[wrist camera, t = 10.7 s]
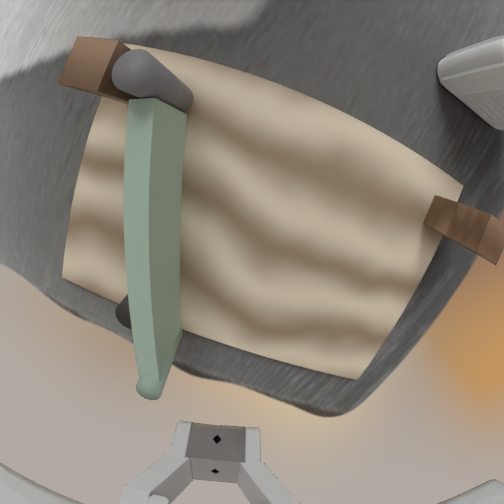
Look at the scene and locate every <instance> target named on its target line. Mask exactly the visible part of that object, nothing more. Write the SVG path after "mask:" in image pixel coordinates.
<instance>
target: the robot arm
mask: <svg viewBox="0 0 504 504" xmlns="http://www.w3.org/2000/svg"><path fill="white" fill-rule="evenodd" d="M193 479H197V480H208V481H219V482H229V483H238V485H239V487H240V488H241V490H242V491H243V493H244V494H245V496H246V497H247V498H248V500H249V502H250V503H251V504H300V503H299V502H298V501H297V500H296V499H295V498H294V497H293V496H292V495H291V493H289V491H288V490H287V489H286V488H285V487H284V486H283V484H282V483H281V482H280V481H279V480H278V479H277V477H275V475H274V474H273V473H272V471H271V470H270V469H269V468H268V467H267V466H266V464H265V463H261V450H260V429H259V428H253V427H246V428H245V427H237V426H221V425H219V426H217V425H209V424H200V423H193V422H187V421H178V423H177V426H176V430H175V434H174V439H173V443H172V447H171V452H170V454H165V455H164V456H163V457H162V458H160V459H159V460H158V461H157V462H155V463H154V464H153V465H152V466H151V467H149V468H148V469H147V470H145V471H144V472H143V473H141V474H140V475H139V476H138V477H136V478H135V479H134V480H132V481H131V482H130V483H128V484H127V485H126V486H125V487H124V489H123V493H122V496H121V499H120V503H119V504H170V503H171V502H172V501H173V500H174V499H175V498H176V497H177V496H178V495H179V494H180V493H181V492H182V491H183V490H184V489H185V488H186V487H187V486H188V485H189V484H190V483H191V482H192V481H193ZM0 504H83V503H80V502H78V501H75V500H73V499H70V498H68V497H65V496H63V495H61V494H58V493H56V492H54V491H52V490H50V489H48V488H46V487H44V486H42V485H40V484H37V483H36V482H34V481H32V480H30V479H28V478H26V477H24V476H23V475H20V474H19V473H17V472H15V471H13V470H12V469H10V468H9V467H7V466H5V465H4V464H2V463H0ZM438 504H504V483H502V482H500V481H497V480H494V479H493V480H489V481H487V482H485V483H483V484H481V485H479V486H477V487H474V488H472V489H470V490H468V491H466V492H464V493H462V494H459V495H457V496H455V497H453V498H450V499H448V500H445V501H443V502H440V503H438Z"/></svg>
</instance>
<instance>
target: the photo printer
mask: <svg viewBox="0 0 504 504" xmlns="http://www.w3.org/2000/svg"><path fill="white" fill-rule="evenodd" d="M437 73H438V78H439V79H440V83H441V84H442V85H443V86H444V87H445V88H446V89H447V90H449V91H450V92H451V93H452V94H454V95H455V96H456V97H457V98H458V99H460V100H461V101H462V102H463V103H465V104H466V105H467V106H468V107H469V108H471V109H472V110H473V111H474V112H475V113H477V114H478V115H479V116H480V117H481V118H482V119H483V120H485V121H486V122H487V123H488V124H489V125H491V126H492V127H494V128H495V129H498V130H504V35H502V36H498V37H495V38H492V39H488V40H485V41H482V42H480V43H477V44H474V45H471V46H468V47H465V48H463V49H460V50H457V51H455V52H452V53H450V54H448V55H446V56H445V58H444V59H442V60H441V61H440V62H439V64H438V67H437Z"/></svg>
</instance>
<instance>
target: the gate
mask: <svg viewBox="0 0 504 504" xmlns="http://www.w3.org/2000/svg"><path fill="white" fill-rule="evenodd" d="M112 81H113V83H114V85H115V86H116V87H117V88H118V89H119V90H122V91H124V92H126V93H129V94H131V95H134V96H136V97H138V98H141V99H129V104H128V115H127V126H126V140H125V158H124V245H125V263H126V278H127V290H128V300H129V310H130V318H131V326H132V334H133V341H134V348H135V354H136V361H137V366H138V372H139V380H138V383H137V385H136V390H137V392H138V393H139V394H140V395H141V396H142V397H144V398H146V399H149V400H157V399H159V398H160V396H161V393H162V391H163V388H164V385H165V382H166V379H167V376H168V374H169V371H170V368H171V365H172V362H173V360H174V357H175V354H176V351H177V349H178V346H179V343H180V340H181V338H182V335H183V330H182V328H181V314H180V226H181V196H182V176H183V159H184V145H185V132H186V121H187V114H185V113H183V112H185V111H187V110H188V109H189V108H190V107H191V105H192V103H193V98H194V97H193V93H192V91H191V90H190V89H189V88H188V87H187V86H186V85H185V84H184V83H183V82H182V81H180V80H179V79H178V78H177V77H176V76H175V75H174V74H173V73H172V72H171V71H169V70H168V69H167V68H166V67H165V66H164V65H163V64H162V63H160V62H159V61H158V60H157V59H156V58H155V57H154V56H153V55H151V54H150V53H149V52H148V51H146V50H143V49H133V50H130V51H128V52H126V53H124V54H123V55H122V56H120V57H119V59H118V60H117V61H116V63H115V64H114V66H113V69H112Z"/></svg>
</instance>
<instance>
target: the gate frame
mask: <svg viewBox="0 0 504 504" xmlns="http://www.w3.org/2000/svg"><path fill="white" fill-rule="evenodd" d="M133 49H143V50H146V51H148V52H149V53H150V54H151V55H153V56H154V57H155V58H156V59H157V60H158V61H159V62H160V63H162V64H163V65H164V66H165V67H166V68H167V69H168V70H169V71H171V72H172V73H173V74H174V75H175V76H176V77H177V78H178V79H179V80H180V81H182V82H183V83H184V84H185V85H186V86H187V87H188V88H189V89H190V90H191V91H192V93H193V97H194V98H193V103H192V105H191V107H190V108H189V109H188V110H187V111H185V112H183V113H185V114H187V121H186V132H185V145H184V159H183V176H182V196H181V226H180V314H181V328H182V329H183V330H186V331H189V332H192V333H194V334H197V335H200V336H203V337H206V338H209V339H211V340H214V341H217V342H220V343H223V344H226V345H229V346H232V347H236V348H239V349H242V350H245V351H248V352H251V353H255V354H258V355H261V356H265V357H268V358H272V359H275V360H279V361H282V362H286V363H289V364H293V365H297V366H301V367H304V368H308V369H312V370H316V371H320V372H324V373H328V374H333V375H337V376H341V377H346V378H350V379H355V380H358V379H359V377H360V376H361V375H362V373H363V372H364V371H365V369H366V368H367V366H368V365H369V364H370V362H371V361H372V359H373V358H374V356H375V355H376V353H377V352H378V350H379V349H380V348H381V346H382V345H383V343H384V341H385V340H386V338H387V337H388V335H389V334H390V332H391V331H392V329H393V327H394V326H395V324H396V323H397V321H398V319H399V318H400V316H401V314H402V313H403V311H404V309H405V308H406V306H407V304H408V303H409V301H410V299H411V297H412V296H413V294H414V292H415V290H416V288H417V287H418V285H419V283H420V281H421V279H422V277H423V275H424V274H425V272H426V270H427V268H428V266H429V264H430V262H431V260H432V258H433V256H434V254H435V252H436V250H437V247H438V245H439V243H440V241H441V239H442V237H443V235H444V236H446V237H448V238H449V239H451V240H453V241H455V242H457V243H458V244H460V245H462V246H464V247H466V248H467V249H469V250H471V251H473V252H474V253H476V254H478V255H479V256H482V257H483V258H485V259H486V260H488V261H490V262H491V263H493V264H494V265H496V264H497V262H498V260H499V258H500V255H501V253H502V251H503V248H504V224H502V223H501V222H500V221H499V220H498V219H497V218H495V217H494V216H493V215H492V214H489V213H487V212H484V211H481V210H478V209H476V208H473V207H470V206H467V205H464V204H461V203H458V199H459V196H460V194H461V191H462V189H463V185H462V184H460V183H459V182H458V181H456V180H455V179H454V178H452V177H451V176H449V175H448V174H447V173H445V172H444V171H442V170H441V169H439V168H438V167H437V166H435V165H434V164H432V163H431V162H429V161H428V160H426V159H425V158H423V157H422V156H420V155H418V154H417V153H415V152H414V151H412V150H411V149H409V148H407V147H406V146H404V145H402V144H401V143H399V142H397V141H396V140H394V139H392V138H391V137H389V136H387V135H385V134H384V133H382V132H380V131H378V130H376V129H375V128H373V127H371V126H369V125H367V124H365V123H363V122H362V121H360V120H358V119H356V118H354V117H352V116H350V115H348V114H346V113H344V112H342V111H340V110H338V109H335V108H333V107H331V106H329V105H327V104H325V103H323V102H320V101H318V100H316V99H314V98H311V97H309V96H307V95H304V94H302V93H300V92H297V91H295V90H292V89H290V88H287V87H285V86H282V85H280V84H277V83H274V82H272V81H269V80H266V79H263V78H261V77H258V76H255V75H252V74H249V73H246V72H243V71H240V70H237V69H234V68H230V67H227V66H224V65H220V64H217V63H213V62H210V61H206V60H202V59H199V58H195V57H191V56H187V55H182V54H178V53H174V52H169V51H164V50H159V49H154V48H149V47H143V46H137V45H131V44H123V43H122V42H120V41H119V40H111V39H102V38H92V37H77V39H76V41H75V43H74V46H73V48H72V50H71V52H70V55H69V57H68V60H67V62H66V64H65V67H64V70H63V72H62V75H61V77H60V80H59V83H58V84H60V85H64V86H68V87H71V88H75V89H79V90H82V91H86V92H89V93H93V94H96V95H100V96H102V97H101V100H100V103H99V106H98V109H97V111H96V114H95V117H94V120H93V124H92V127H91V130H90V133H89V137H88V140H87V143H86V147H85V151H84V154H83V158H82V162H81V166H80V170H79V174H78V179H77V183H76V187H75V192H74V197H73V202H72V207H71V213H70V219H69V225H68V231H67V238H66V246H65V254H64V263H63V273H62V278H64V279H66V280H69V281H71V282H73V283H75V284H77V285H79V286H81V287H83V288H85V289H87V290H89V291H92V292H94V293H96V294H98V295H100V296H103V297H105V298H107V299H109V300H111V301H114V302H116V303H118V304H119V305H118V306H117V308H116V317H117V319H118V321H119V322H120V323H121V324H122V325H123V326H125V327H127V328H131V329H132V326H131V318H130V310H129V300H128V290H127V278H126V263H125V245H124V158H125V140H126V126H127V115H128V104H129V99H141V98H138V97H136V96H134V95H131V94H129V93H126V92H124V91H122V90H119V89H118V88H117V87H116V86H115V85H114V83H113V81H112V69H113V66H114V64H115V63H116V61H117V60H118V59H119V57H120V56H122V55H123V54H124V53H126V52H128V51H130V50H133Z"/></svg>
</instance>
